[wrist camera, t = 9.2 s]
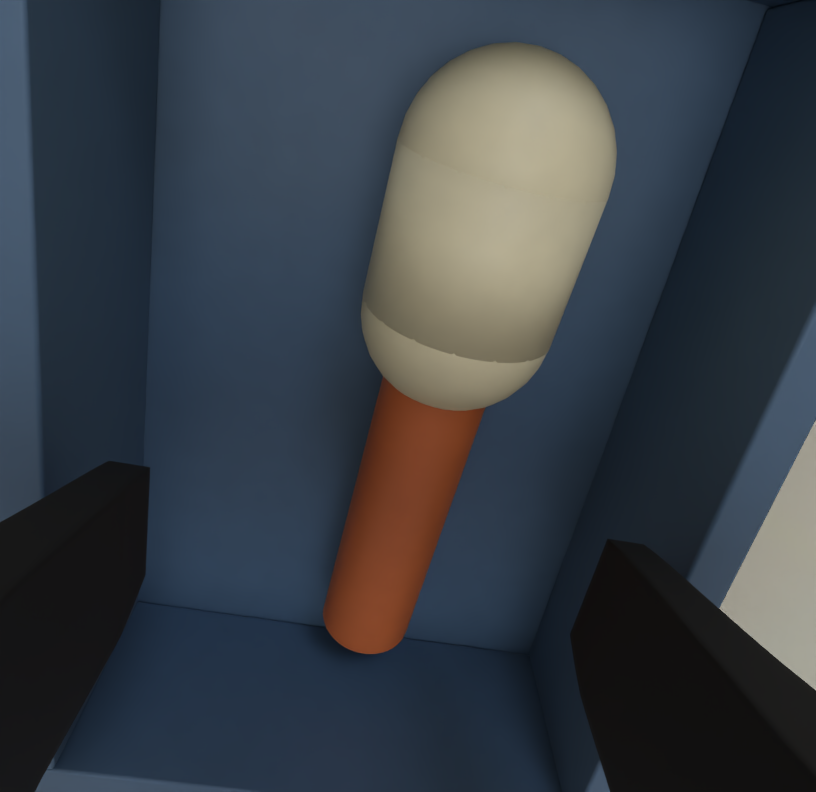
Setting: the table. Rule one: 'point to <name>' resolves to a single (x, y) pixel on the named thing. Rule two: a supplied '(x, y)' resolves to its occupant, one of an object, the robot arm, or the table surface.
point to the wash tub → (361, 379)
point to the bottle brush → (462, 300)
